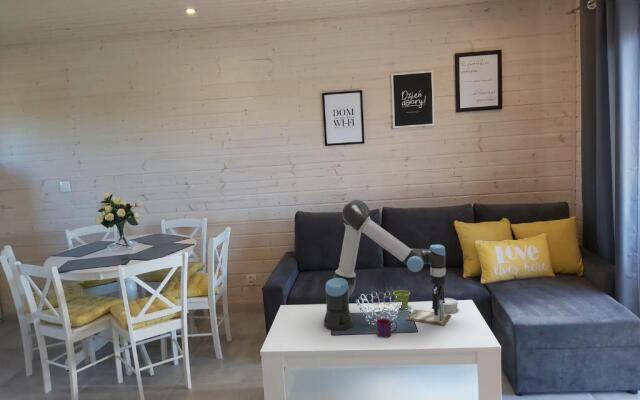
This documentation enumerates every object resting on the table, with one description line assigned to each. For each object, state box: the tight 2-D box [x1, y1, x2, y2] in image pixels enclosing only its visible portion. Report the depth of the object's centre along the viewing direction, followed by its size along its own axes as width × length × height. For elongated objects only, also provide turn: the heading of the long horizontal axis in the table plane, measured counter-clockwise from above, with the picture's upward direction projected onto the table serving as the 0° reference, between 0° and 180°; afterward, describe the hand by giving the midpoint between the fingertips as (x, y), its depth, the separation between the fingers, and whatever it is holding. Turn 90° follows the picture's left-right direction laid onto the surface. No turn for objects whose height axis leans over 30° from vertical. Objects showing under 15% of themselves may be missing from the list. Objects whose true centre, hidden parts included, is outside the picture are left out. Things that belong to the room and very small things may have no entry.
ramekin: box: [443, 297, 459, 314], centre depth 244 cm, size 11×11×5 cm
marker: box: [439, 299, 443, 321], centre depth 229 cm, size 3×3×10 cm
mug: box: [376, 318, 398, 338], centre depth 216 cm, size 7×10×7 cm
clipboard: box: [405, 309, 452, 327], centre depth 234 cm, size 20×15×1 cm
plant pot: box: [392, 290, 411, 310], centre depth 251 cm, size 9×9×9 cm
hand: (438, 318), depth 229 cm, fingers open, 7 cm apart
